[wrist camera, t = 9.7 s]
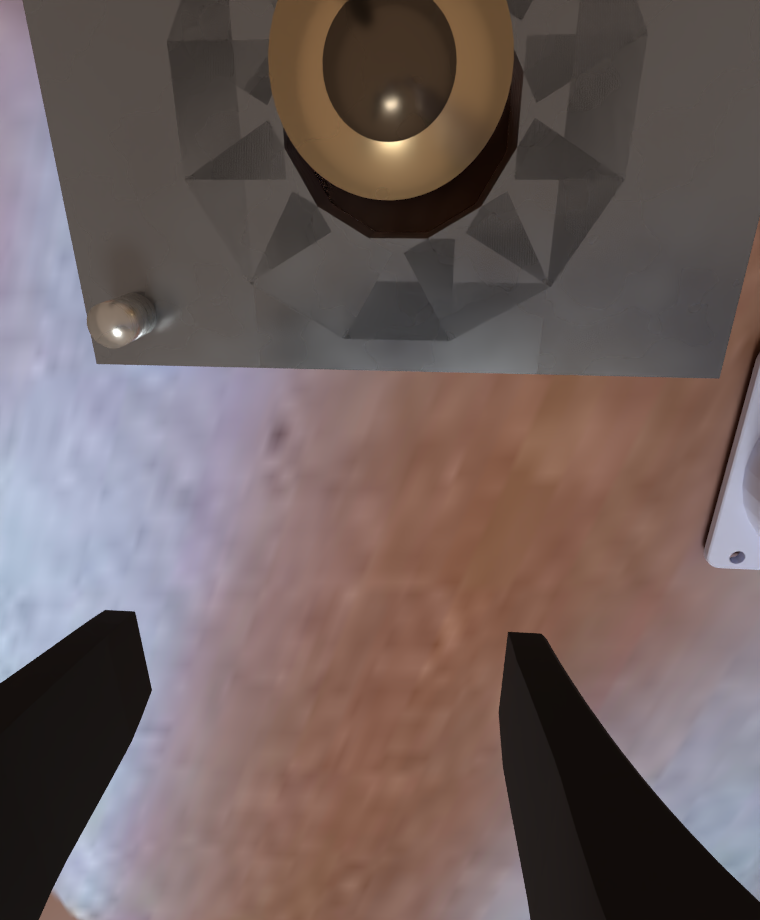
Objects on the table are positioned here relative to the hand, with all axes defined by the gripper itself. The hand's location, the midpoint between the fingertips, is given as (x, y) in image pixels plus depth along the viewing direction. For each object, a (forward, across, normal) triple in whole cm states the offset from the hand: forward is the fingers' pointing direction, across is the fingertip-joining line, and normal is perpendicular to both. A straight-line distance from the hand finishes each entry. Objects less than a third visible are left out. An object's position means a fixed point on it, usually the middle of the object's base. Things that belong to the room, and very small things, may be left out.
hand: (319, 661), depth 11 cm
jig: (+10, -1, -10) cm, 14 cm away
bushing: (+10, -1, -10) cm, 15 cm away
